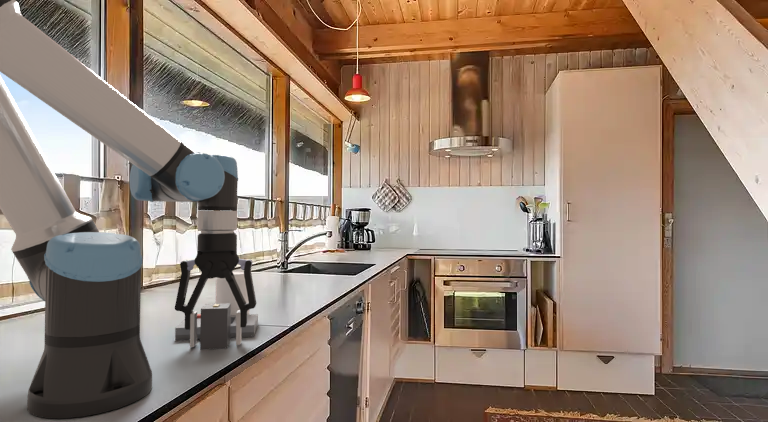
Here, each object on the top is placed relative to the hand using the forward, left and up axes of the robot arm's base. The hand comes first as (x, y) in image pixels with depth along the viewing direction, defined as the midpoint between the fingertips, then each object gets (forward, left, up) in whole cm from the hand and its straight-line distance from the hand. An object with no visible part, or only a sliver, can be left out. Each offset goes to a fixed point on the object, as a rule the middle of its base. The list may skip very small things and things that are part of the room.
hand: (216, 344), depth 92 cm
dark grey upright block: (0, 0, 0) cm, 0 cm away
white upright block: (+22, 0, 0) cm, 22 cm away
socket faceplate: (+11, +1, 0) cm, 11 cm away
